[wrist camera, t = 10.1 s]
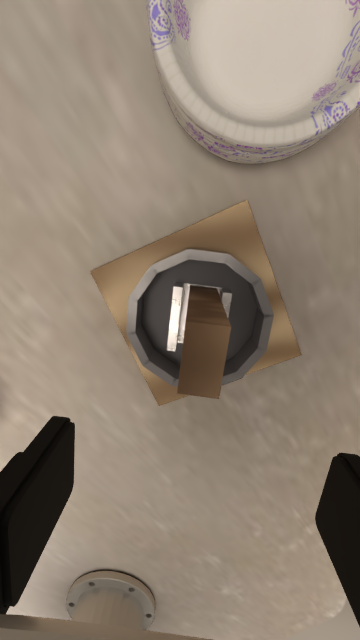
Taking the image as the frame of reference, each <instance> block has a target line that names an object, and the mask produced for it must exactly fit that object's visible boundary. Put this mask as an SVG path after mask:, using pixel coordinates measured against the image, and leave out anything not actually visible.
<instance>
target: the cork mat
mask: <svg viewBox="0 0 360 640" xmlns="http://www.w3.org/2000/svg"><path fill="white" fill-rule="evenodd" d="M186 248H198V249H208V250H215V251H223V252H227V253H228V254H230V255H231V256H232V257H234V258H235V259H236V260H238V261H239V262H240V263H241V264H243V265H244V266H245V267H246V268H248V269H249V270H250V271H252V272H253V273H254V274H255V275H257V276H258V277H259V278H261V280H262V283H263V286H264V289H265V291H266V294H267V297H268V300H269V302H270V305H271V308H272V311H273V313H274V318H273V322H272V327H271V332H270V337H269V341H268V346H267V351H266V352H265V353H264V354H263V356H262V357H261V358H260V359H259V360H258V361H257V362H256V363H255V364H254V365H253V367H252V368H251V369H250V370H249V371H248V372H247V373H246V374H245V375H247V374H250V373H253V372H255V371H258V370H261V369H264V368H267V367H269V366H272V365H275V364H278V363H281V362H283V361H286V360H289V359H292V358H295V357H297V356H300V355H301V352H300V349H299V346H298V343H297V340H296V338H295V335H294V332H293V329H292V326H291V323H290V320H289V318H288V315H287V312H286V309H285V306H284V303H283V301H282V298H281V295H280V292H279V289H278V286H277V283H276V281H275V278H274V275H273V272H272V269H271V266H270V263H269V261H268V258H267V255H266V252H265V249H264V246H263V244H262V241H261V238H260V235H259V232H258V229H257V226H256V224H255V221H254V218H253V215H252V212H251V209H250V206H249V204H248V201H247V200H245V201H243V202H241V203H239V204H237V205H234V206H232V207H230V208H228V209H226V210H223V211H221V212H219V213H217V214H215V215H213V216H210V217H208V218H206V219H204V220H202V221H199V222H197V223H195V224H193V225H191V226H189V227H186V228H184V229H182V230H180V231H178V232H175V233H173V234H171V235H169V236H167V237H165V238H162V239H160V240H158V241H156V242H154V243H151V244H149V245H147V246H145V247H143V248H141V249H138V250H136V251H134V252H132V253H130V254H127V255H125V256H123V257H121V258H119V259H117V260H114V261H112V262H110V263H108V264H106V265H103V266H101V267H99V268H97V269H95V270H92V271H90V272H91V274H92V276H93V278H94V280H95V282H96V284H97V286H98V288H99V290H100V292H101V294H102V296H103V298H104V300H105V302H106V304H107V306H108V308H109V309H110V311H111V313H112V315H113V317H114V319H115V321H116V323H117V325H118V327H119V329H120V331H121V333H122V335H123V337H124V339H125V341H126V343H127V345H128V347H129V349H130V351H131V352H132V354H133V356H134V358H135V360H136V362H137V364H138V366H139V368H140V370H141V372H142V374H143V376H144V378H145V380H146V382H147V384H148V386H149V388H150V390H151V392H152V394H153V395H154V397H155V399H156V401H157V403H158V405H159V406H160V405H163V404H166V403H169V402H172V401H174V400H177V399H180V398H183V397H185V396H188V395H185V394H177V389H178V387H176V386H171V385H170V384H168V383H167V382H165V381H164V380H162V379H161V378H159V377H158V376H157V375H155V374H154V373H152V372H151V371H149V370H148V369H146V368H145V367H143V365H142V364H141V362H140V360H139V358H138V356H137V354H136V352H135V350H134V348H133V346H132V344H131V342H130V340H129V338H128V336H127V334H126V329H127V313H128V298H129V296H130V294H131V293H132V292H133V290H134V289H135V287H136V286H137V284H138V283H139V282H140V280H141V279H142V277H143V276H144V274H145V273H146V272H147V270H148V269H149V267H150V266H151V265H152V264H154V263H155V262H157V261H159V260H162V259H164V258H166V257H168V256H171V255H172V254H175V253H177V252H180V251H182V250H184V249H186Z"/></svg>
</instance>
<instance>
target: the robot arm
mask: <svg viewBox="0 0 360 640" xmlns="http://www.w3.org/2000/svg"><path fill="white" fill-rule="evenodd" d="M74 440H75V424H74V423H72V422H70V418H66V417H58V416H53V417H52V418H51V419H50V420H49V421H48V422H47V424H46V425H45V426H44V427H43V429H42V430H41V431H40V432H39V434H38V435H37V436H36V437H35V438H34V440H33V441H32V442H31V443H30V445H29V446H28V447H27V448H26V450H25V451H24V452H19V453H17V454H16V455H15V456H14V457H13V458H12V459H11V460H10V461H9V463H8V464H7V465H6V466H5V467H4V468H3V470H2V471H1V472H0V640H212V639H204V638H197V637H190V636H183V635H176V634H168V633H161V632H153V631H146V629H147V628H149V626H150V625H151V623H152V622H153V619H154V614H155V601H154V598H153V595H152V594H151V592H150V591H149V589H148V588H147V587H146V586H145V585H144V584H143V583H141V582H140V581H139V580H137V579H135V578H133V577H131V576H129V575H126V574H123V573H119V572H115V571H97V572H92V573H89V574H86V575H84V576H82V577H81V578H79V579H78V580H76V581H75V583H74V584H73V585H72V587H71V589H70V591H69V594H68V597H67V602H66V605H67V610H68V612H69V614H70V616H71V618H72V620H71V621H68V620H59V619H50V618H41V617H32V616H23V615H7V614H6V612H7V610H8V608H9V606H13V607H14V606H15V605H16V604H17V603H18V601H19V599H20V597H21V595H22V593H23V591H24V589H25V587H26V585H27V583H28V581H29V579H30V577H31V574H32V572H33V570H34V568H35V566H36V564H37V562H38V560H39V558H40V556H41V554H42V552H43V550H44V548H45V546H46V544H47V542H48V540H49V538H50V536H51V534H52V531H53V529H54V527H55V525H56V523H57V521H58V519H59V517H60V515H61V513H62V511H63V509H64V507H65V505H66V503H67V501H68V499H69V497H70V495H71V492H72V489H73V484H74ZM315 520H316V525H317V528H318V531H319V533H320V535H321V538H322V540H323V542H324V545H325V547H326V549H327V552H328V554H329V556H330V559H331V561H332V563H333V566H334V568H335V570H336V573H337V575H338V577H339V580H340V582H341V584H342V587H343V589H344V591H345V594H346V596H347V598H348V601H349V603H350V605H351V608H352V610H353V612H354V614H355V617H356V619H357V622H358V624H359V626H360V457H359V456H358V455H355V454H347V453H339V454H338V455H337V456H335V457H333V459H332V462H331V465H330V469H329V472H328V475H327V479H326V482H325V485H324V489H323V492H322V495H321V498H320V502H319V505H318V508H317V512H316V516H315Z"/></svg>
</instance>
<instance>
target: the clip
mask: <svg viewBox="0 0 360 640" xmlns="http://www.w3.org/2000/svg"><path fill="white" fill-rule="evenodd" d="M190 285H195V286H204V287H212V288H217V291H218V293H219V296H220V299H221V301H222V304H223V306H224V309H225V312H226V314H227V317H228V316H229V310H230V304H231V298H232V292H231V291H230V288H221V287H213V286H205V285H196V284H188V283H180V282H175V284H174V287H173V297H172V306H171V315H170V325H169V334H168V343H167V351H176V345H177V343H183V340H184V331H185V323H186V315H187V307H188V298H189V290H190Z"/></svg>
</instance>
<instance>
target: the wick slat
mask: <svg viewBox="0 0 360 640" xmlns="http://www.w3.org/2000/svg"><path fill="white" fill-rule="evenodd" d="M230 331H231V325H230V322H229V320H228V317H227V314H226V312H225V309H224V306H223V304H222V301H221V299H220V296H219V293H218V291H217V288H212V287H204V286H195V285H190V290H189V298H188V307H187V315H186V323H185V331H184V340H183V348H182V356H181V364H180V373H179V381H178V389H177V394H185V395H193V396H201V397H209V398H216V399H219V396H220V390H221V384H222V378H223V372H224V366H225V360H226V354H227V349H228V343H229V337H230Z"/></svg>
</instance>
